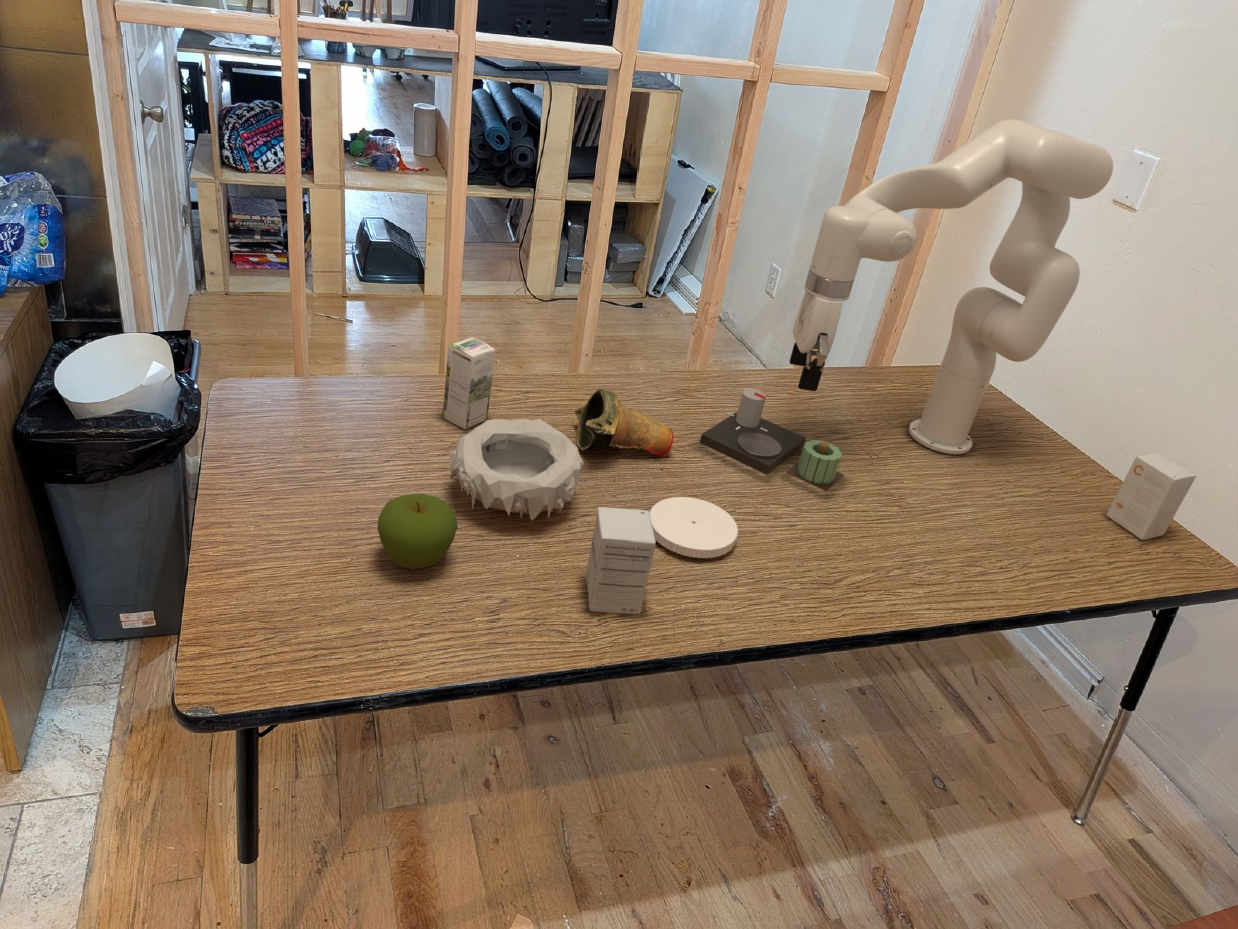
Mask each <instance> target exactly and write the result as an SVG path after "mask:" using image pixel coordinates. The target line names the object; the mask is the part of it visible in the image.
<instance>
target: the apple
mask: <svg viewBox="0 0 1238 929" xmlns="http://www.w3.org/2000/svg"><path fill="white" fill-rule="evenodd" d="M457 519H458V518H457V516H456V514H455V510H454V509H453V508H452V506H450V505H449V503H448V502H447V501H444V500H443V499H442V498H440V497H438V496H435V495H432V494H426V493H410V494H405V495H401V496H397V497H395V498H393V499H391V500H388V501H387V502H386V504H385V505H384V506H383V508H382V510H381V511H380V514H379V516H378V519H377V531H378V536H379V541H380V543H381V545H382V546H383V548H384V549H385V552H386V553H387V556H389V558H390V560H391V561H392V562H393V563H394V564H396V565H398V566H399V567H401V568H405V569H412V570H413V569H423V568H428V567H431V566H433V565H435V564H437V563H438V562H440V561H441V559H442V558H443V557H444V556H445V554H446V553H447V552H448V551H449V549H450V548H451V546H452V544H453V542H454V539H455V536H456V534H457V530H458V520H457Z"/></svg>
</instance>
